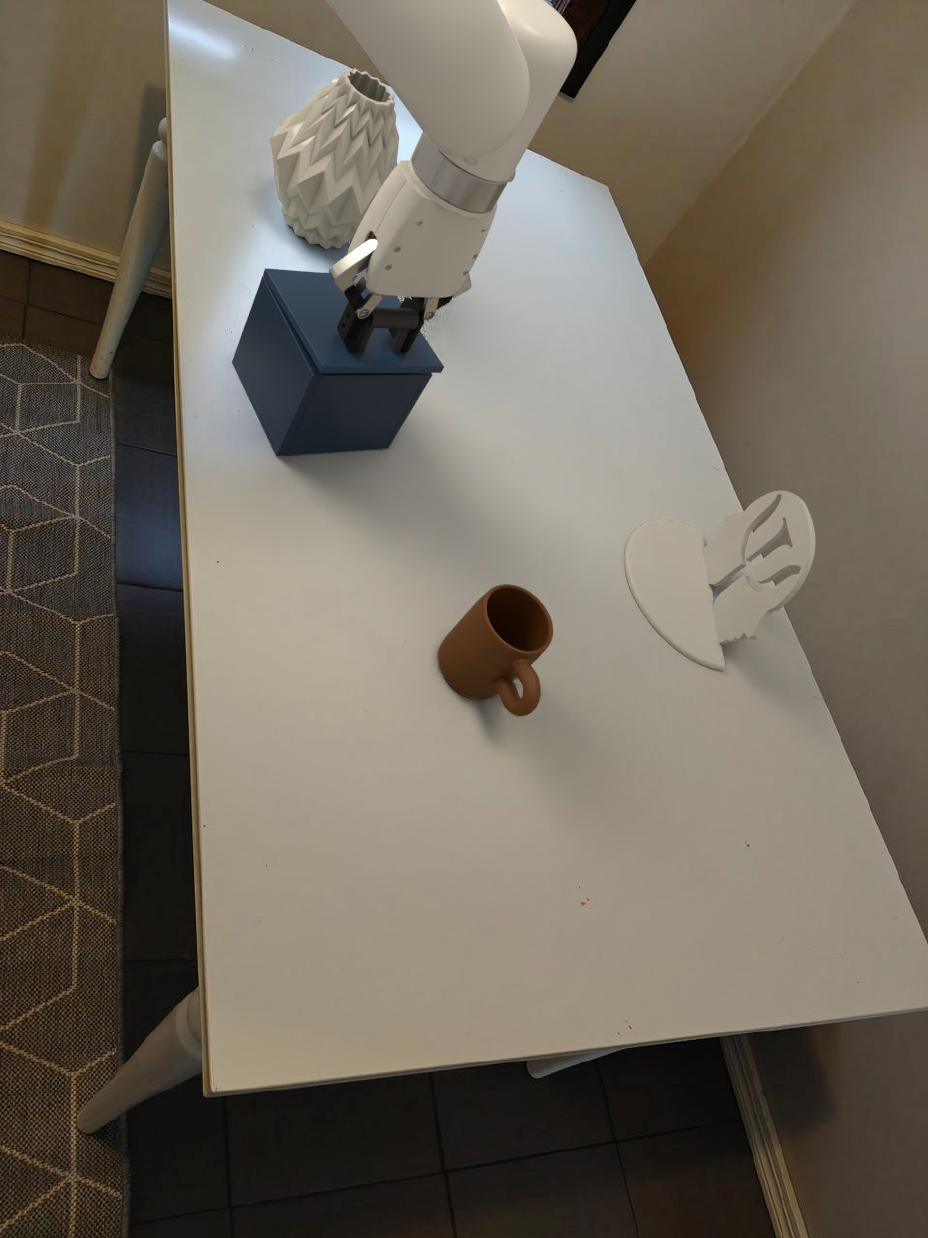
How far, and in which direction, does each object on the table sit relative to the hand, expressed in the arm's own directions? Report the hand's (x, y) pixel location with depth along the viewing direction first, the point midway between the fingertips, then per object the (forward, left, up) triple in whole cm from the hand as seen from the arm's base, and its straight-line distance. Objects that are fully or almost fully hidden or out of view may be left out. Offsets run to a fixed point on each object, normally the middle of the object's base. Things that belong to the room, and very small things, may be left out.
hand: (372, 339), depth 81 cm
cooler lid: (-2, +3, -1) cm, 4 cm away
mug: (+22, -23, -13) cm, 34 cm away
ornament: (+45, +3, -13) cm, 47 cm away
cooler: (-2, +3, -13) cm, 14 cm away
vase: (-10, +34, -13) cm, 38 cm away
